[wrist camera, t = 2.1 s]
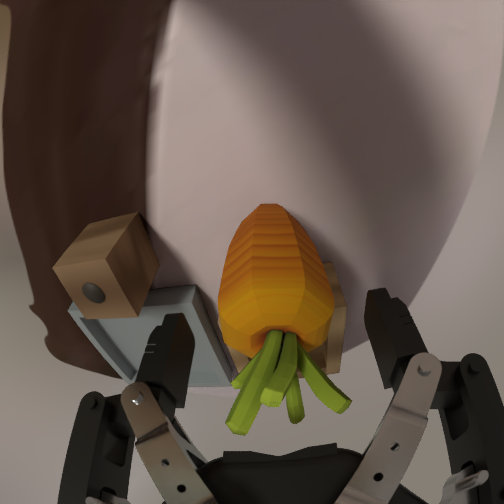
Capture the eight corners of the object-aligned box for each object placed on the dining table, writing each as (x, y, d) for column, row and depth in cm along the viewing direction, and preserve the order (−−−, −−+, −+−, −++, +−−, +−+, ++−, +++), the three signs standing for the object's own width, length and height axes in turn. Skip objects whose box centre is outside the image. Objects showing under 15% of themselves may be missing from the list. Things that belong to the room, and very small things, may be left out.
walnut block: (89, 223, 20) (51, 268, 15) (138, 211, 20) (104, 259, 15) (112, 270, 23) (85, 319, 18) (160, 264, 23) (137, 318, 18)
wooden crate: (223, 276, 23) (217, 322, 19) (331, 262, 22) (346, 306, 18) (244, 342, 28) (243, 383, 24) (330, 331, 27) (339, 372, 23)
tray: (76, 296, 25) (67, 310, 23) (196, 284, 24) (191, 302, 22) (132, 371, 33) (128, 384, 31) (232, 370, 32) (231, 386, 30)
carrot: (315, 190, 19) (395, 403, 6) (285, 246, 21) (309, 452, 9) (247, 164, 18) (227, 386, 5) (222, 225, 20) (186, 439, 8)
